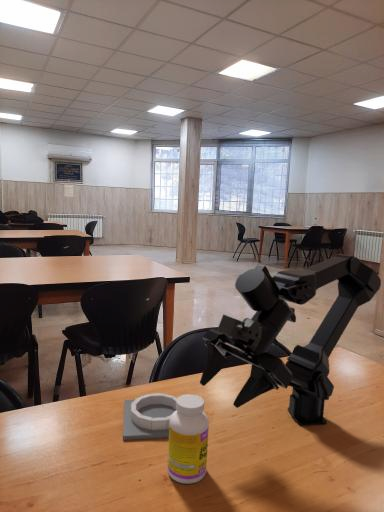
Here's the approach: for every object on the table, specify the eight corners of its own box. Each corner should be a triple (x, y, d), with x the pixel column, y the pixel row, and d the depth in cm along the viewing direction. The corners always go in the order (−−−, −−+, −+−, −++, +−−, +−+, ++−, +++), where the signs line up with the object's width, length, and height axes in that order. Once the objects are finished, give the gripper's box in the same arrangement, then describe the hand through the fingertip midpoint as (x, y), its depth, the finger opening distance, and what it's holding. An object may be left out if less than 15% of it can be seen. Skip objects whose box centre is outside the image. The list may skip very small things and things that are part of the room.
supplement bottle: (202, 489, 61) (206, 414, 60) (162, 481, 62) (165, 408, 61) (208, 462, 68) (212, 394, 66) (172, 456, 69) (175, 389, 67)
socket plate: (185, 400, 89) (185, 389, 89) (194, 436, 75) (195, 422, 75) (124, 403, 87) (124, 391, 86) (122, 439, 73) (123, 426, 73)
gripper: (212, 289, 76) (163, 352, 71) (286, 311, 61) (230, 394, 56) (239, 322, 81) (195, 383, 76) (312, 350, 66) (264, 428, 61)
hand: (217, 394), depth 67 cm, fingers open, 9 cm apart
